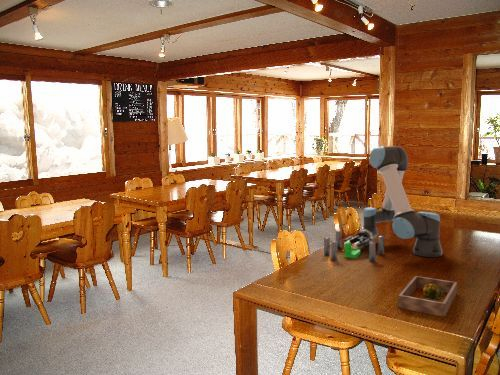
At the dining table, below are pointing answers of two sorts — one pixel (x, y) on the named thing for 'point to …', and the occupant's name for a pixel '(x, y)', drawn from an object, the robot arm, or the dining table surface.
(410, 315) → the dining table surface
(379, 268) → the dining table surface
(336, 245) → the spacer posts
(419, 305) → the wooden tray
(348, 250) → the mechanical part
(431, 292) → the christmas decoration
